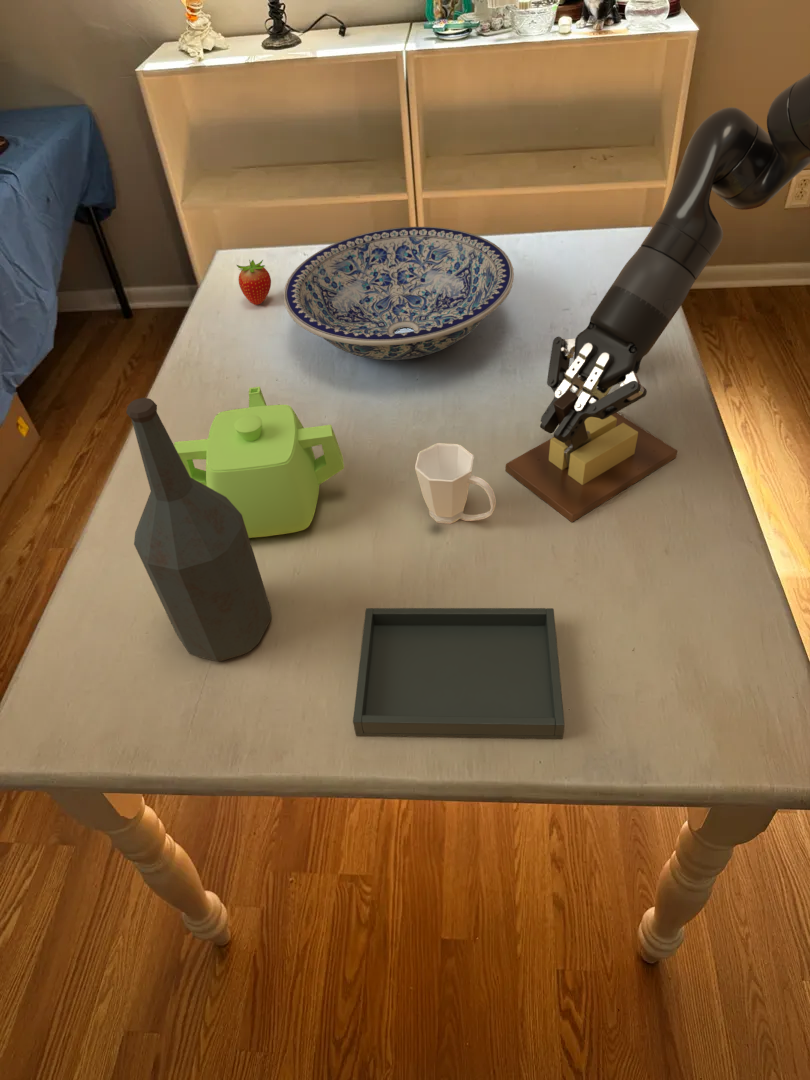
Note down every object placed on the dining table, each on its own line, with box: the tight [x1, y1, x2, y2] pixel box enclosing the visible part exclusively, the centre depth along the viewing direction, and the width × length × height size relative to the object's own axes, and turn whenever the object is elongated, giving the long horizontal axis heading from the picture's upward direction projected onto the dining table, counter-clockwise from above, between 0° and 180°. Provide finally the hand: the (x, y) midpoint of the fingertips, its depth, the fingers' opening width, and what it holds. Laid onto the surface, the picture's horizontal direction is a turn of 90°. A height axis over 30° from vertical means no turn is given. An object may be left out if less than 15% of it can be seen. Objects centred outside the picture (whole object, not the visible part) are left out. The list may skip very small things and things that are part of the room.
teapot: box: [173, 386, 345, 539], centre depth 95 cm, size 18×20×13 cm
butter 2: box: [568, 423, 638, 485], centre depth 96 cm, size 9×2×4 cm, turn 126°
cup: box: [414, 442, 497, 525], centre depth 92 cm, size 7×10×8 cm
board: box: [504, 412, 678, 523], centre depth 99 cm, size 18×12×1 cm, turn 126°
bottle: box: [126, 397, 272, 663], centre depth 75 cm, size 10×10×30 cm
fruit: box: [236, 259, 272, 306], centre depth 130 cm, size 5×5×8 cm
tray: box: [352, 607, 565, 740], centre depth 78 cm, size 20×14×3 cm
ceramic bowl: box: [283, 226, 515, 361], centre depth 120 cm, size 34×34×10 cm
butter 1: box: [549, 415, 617, 470], centre depth 98 cm, size 9×2×4 cm, turn 126°
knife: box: [553, 390, 592, 468], centre depth 93 cm, size 4×2×12 cm, turn 126°
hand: (552, 434), depth 90 cm, fingers closed on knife, 1 cm apart
